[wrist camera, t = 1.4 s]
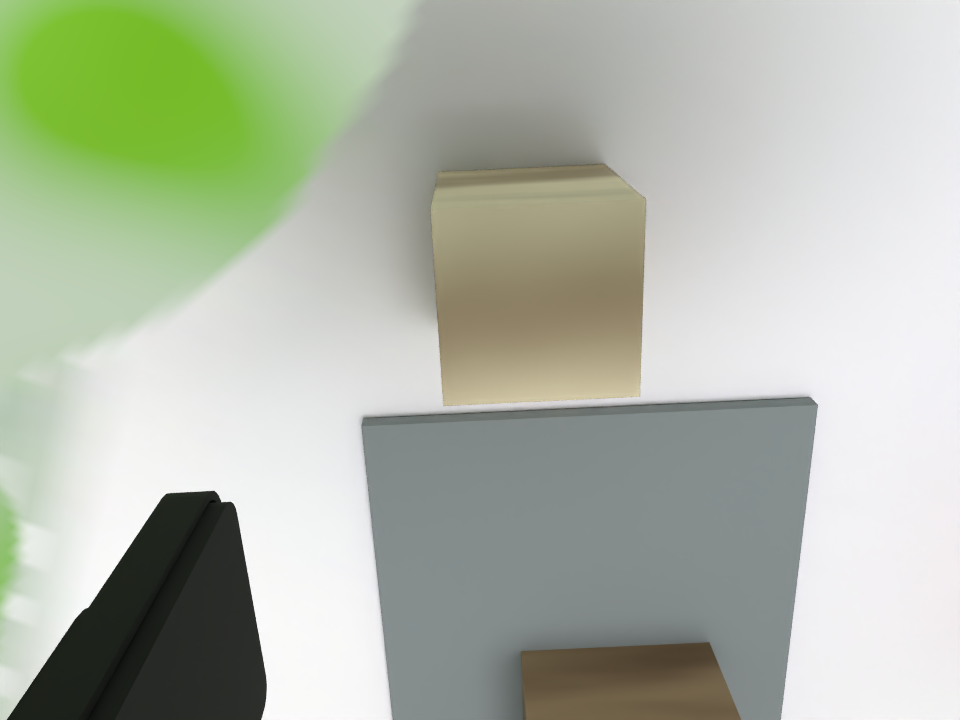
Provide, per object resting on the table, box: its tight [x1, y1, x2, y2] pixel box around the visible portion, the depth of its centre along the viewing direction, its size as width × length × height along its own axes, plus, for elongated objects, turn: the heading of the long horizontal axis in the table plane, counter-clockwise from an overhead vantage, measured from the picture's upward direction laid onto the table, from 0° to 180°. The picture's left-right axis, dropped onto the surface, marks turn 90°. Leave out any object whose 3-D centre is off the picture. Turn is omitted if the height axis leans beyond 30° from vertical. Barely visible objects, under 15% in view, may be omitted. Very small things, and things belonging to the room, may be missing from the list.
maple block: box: [430, 164, 646, 406], centre depth 22 cm, size 5×5×6 cm
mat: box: [362, 398, 818, 720], centre depth 31 cm, size 22×15×1 cm
